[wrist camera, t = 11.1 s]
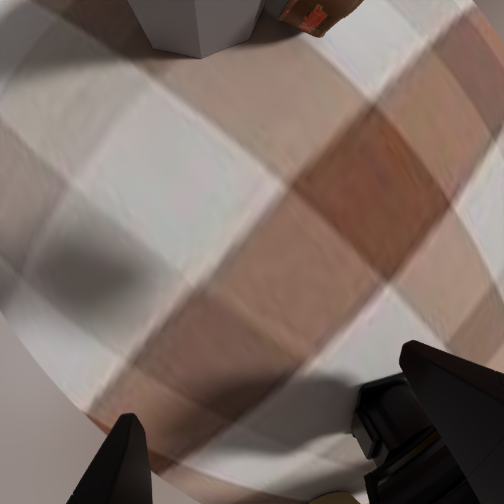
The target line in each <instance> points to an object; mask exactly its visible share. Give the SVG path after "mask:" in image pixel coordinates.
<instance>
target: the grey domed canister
mask: <svg viewBox="0 0 504 504" xmlns="http://www.w3.org/2000/svg"><path fill="white" fill-rule="evenodd" d="M127 1H128V3H129V4H130V6H131V8H132V10H133V12H134V14H135V16H136V17H137V19H138V21H139V23H140V25H141V27H142V29H143V30H144V32H145V34H146V36H147V38H148V40H149V42H150V43H151V45H152V47H153V48H154V49H159V50H164V51H169V52H174V53H178V54H183V55H187V56H192V57H196V58H200V59H203V58H205V57H207V56H209V55H212V54H214V53H216V52H219V51H221V50H223V49H226V48H228V47H231V46H233V45H236V44H239V43H241V42H244V41H247V40H249V39H250V36H251V34H252V32H253V30H254V27H255V25H256V23H257V20H258V18H259V16H260V14H261V12H262V9H263V7H264V5H265V3H266V0H127Z"/></svg>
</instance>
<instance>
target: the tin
mask: <svg viewBox="0 0 504 504" xmlns="http://www.w3.org/2000/svg"><path fill="white" fill-rule="evenodd" d="M363 1H364V0H288V2H287V4H286V6H285V7H284V8H283V10H282V12H281V13H280V15H279V17H278V20H279V21H285V22H287V23H289V24H291V25H293V26H295V27H297V28H298V29H300V30H302V31H304V32H306V33H308V34H310V35H312V36H314V37H318V38H320V37H323V36H324V35H325V33H326V32H327V31H328V30H329V29H330V28H331V27H333V26H334V25H335V24H336V23H337V22H338V21H340V20H341V19H343V18H345V17H346V16H348V15H349V14H350V13H352V12H353V11H354V10H355V9H356V8H357V7H358V6H359V5H360V4H361V3H362V2H363Z"/></svg>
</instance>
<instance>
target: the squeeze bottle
mask: <svg viewBox="0 0 504 504" xmlns="http://www.w3.org/2000/svg"><path fill="white" fill-rule="evenodd" d="M308 504H360V503H359V502H358V501H357V500H356V499H355V498H354V497H353V496H352V495H351V494H350V493H349V492H344V491H342V492H334V493H330V494H326V495H323V496H321V497H318V498H316V499H314V500H313V501H311V502H310V503H308Z"/></svg>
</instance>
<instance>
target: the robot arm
mask: <svg viewBox="0 0 504 504" xmlns="http://www.w3.org/2000/svg"><path fill="white" fill-rule="evenodd" d="M399 365H400V367H401V369H402V371H403V373H404V374H401V375H398V376H395V377H392V378H388V379H385V380H382V381H378V382H375V383H371V384H367V385H364V386H363V387H361V389H360V391H359V396H358V402H357V407H356V409H355V410H354V415H353V420H352V426H351V429H352V432H351V433H352V436H353V437H354V438H356V439H357V441H358V443H359V445H360V447H361V449H362V451H363V453H364V455H365V457H366V459H368V460H371V459H373V460H374V462H375V464H376V466H377V467H378V468H377V469H375V470H374V471H372V472H369V473H367V474H366V475H364V479H365V483H366V484H365V486H366V490H367V494H368V499H369V503H370V504H504V374H503V373H501V372H498V371H495V370H492V369H490V368H487V367H484V366H482V365H479V364H476V363H473V362H471V361H468V360H465V359H463V358H460V357H457V356H455V355H452V354H450V353H447V352H444V351H442V350H439V349H436V348H434V347H431V346H429V345H426V344H423V343H421V342H418V341H416V340H411V341H409V342H406V343H404V344H403V346H402V350H401V354H400V358H399ZM366 390H367V391H366ZM152 502H153V501H152V482H151V470H150V463H149V457H148V450H147V443H146V435H145V430H144V428H143V426H142V424H141V423H140V421H139V420H138V418H137V416H136V415H135V414H134V413H124V414H121V415H120V417H119V418H118V420H117V422H116V423H115V425H114V426H113V428H112V429H111V431H110V433H109V434H108V436H107V438H106V439H105V441H104V442H103V444H102V446H101V447H100V449H99V451H98V452H97V454H96V455H95V457H94V459H93V460H92V462H91V463H90V465H89V467H88V469H87V470H86V472H85V474H84V475H83V477H82V478H81V480H80V482H79V483H78V485H77V487H76V489H75V490H74V492H73V495H71V496H70V498H69V500H68V501H67V503H66V504H153V503H152Z"/></svg>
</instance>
